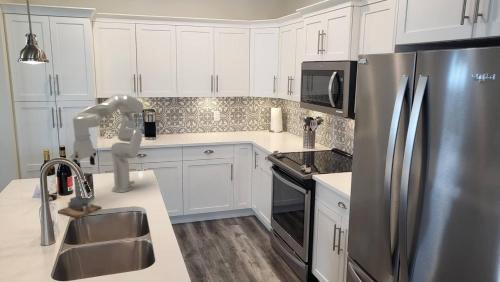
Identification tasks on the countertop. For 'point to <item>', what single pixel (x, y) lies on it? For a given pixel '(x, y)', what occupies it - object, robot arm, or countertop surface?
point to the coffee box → (90, 182)
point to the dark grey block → (78, 203)
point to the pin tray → (78, 214)
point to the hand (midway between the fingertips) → (85, 167)
